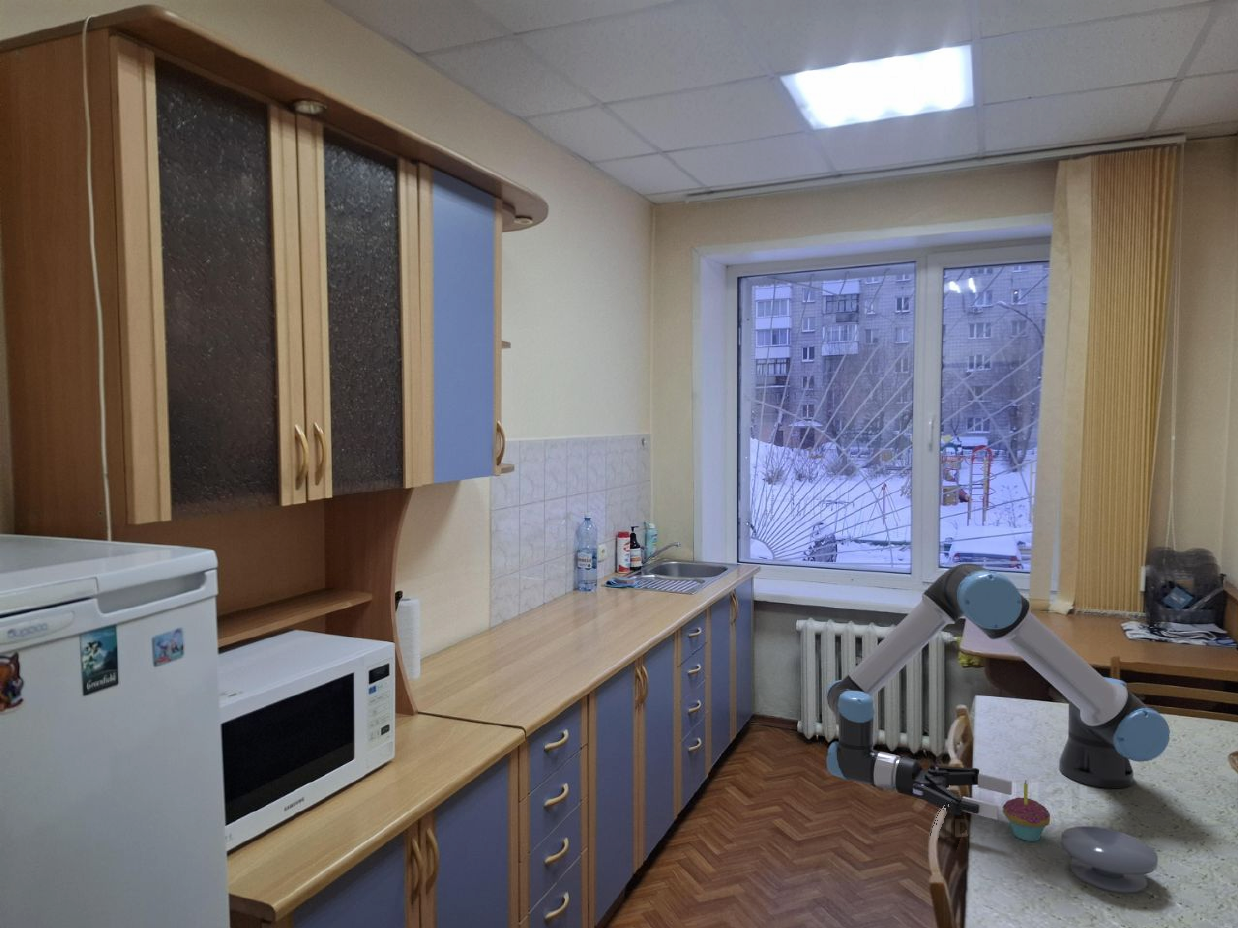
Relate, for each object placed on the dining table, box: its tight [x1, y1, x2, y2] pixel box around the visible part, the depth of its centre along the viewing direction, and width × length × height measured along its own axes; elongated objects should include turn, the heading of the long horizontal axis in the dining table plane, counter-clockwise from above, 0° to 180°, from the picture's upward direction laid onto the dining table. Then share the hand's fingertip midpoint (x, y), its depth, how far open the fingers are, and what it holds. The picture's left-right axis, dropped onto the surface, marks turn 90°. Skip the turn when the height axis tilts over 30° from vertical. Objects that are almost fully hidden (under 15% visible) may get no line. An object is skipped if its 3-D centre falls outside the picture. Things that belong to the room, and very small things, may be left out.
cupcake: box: [1002, 779, 1051, 842], centre depth 163 cm, size 9×8×12 cm
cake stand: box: [1061, 825, 1159, 895], centre depth 148 cm, size 15×15×5 cm
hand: (1005, 799), depth 165 cm, fingers open, 13 cm apart
